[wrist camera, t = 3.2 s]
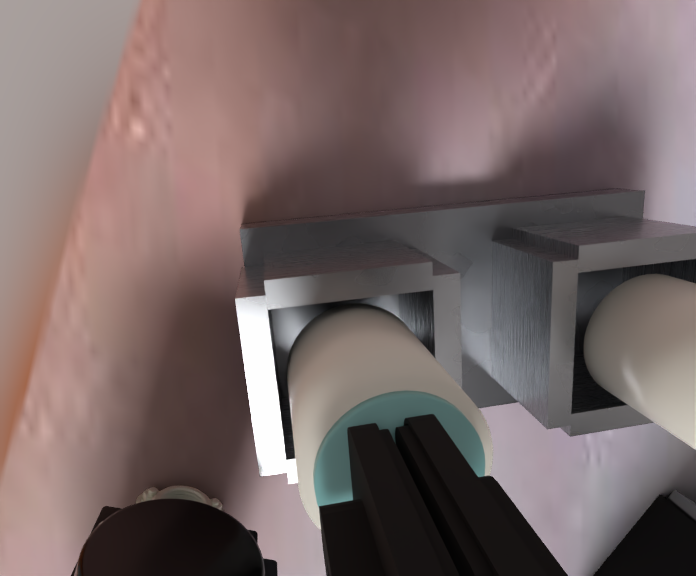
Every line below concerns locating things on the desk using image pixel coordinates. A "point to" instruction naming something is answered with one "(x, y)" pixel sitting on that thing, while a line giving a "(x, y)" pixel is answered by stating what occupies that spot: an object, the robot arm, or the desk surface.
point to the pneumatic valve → (171, 539)
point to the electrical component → (658, 542)
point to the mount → (457, 297)
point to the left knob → (367, 396)
